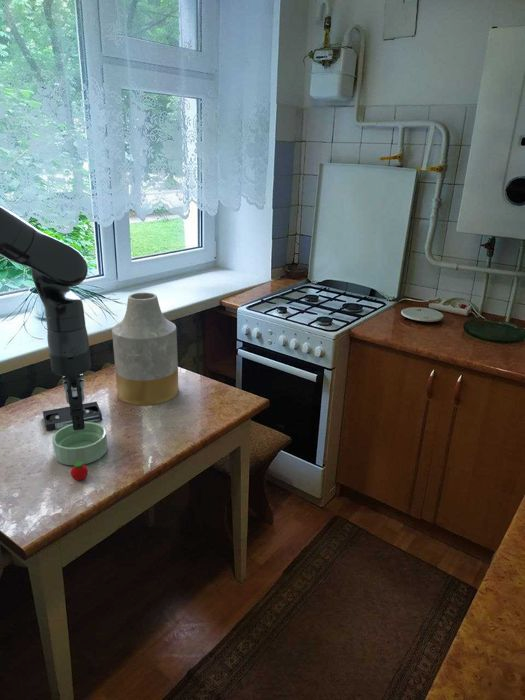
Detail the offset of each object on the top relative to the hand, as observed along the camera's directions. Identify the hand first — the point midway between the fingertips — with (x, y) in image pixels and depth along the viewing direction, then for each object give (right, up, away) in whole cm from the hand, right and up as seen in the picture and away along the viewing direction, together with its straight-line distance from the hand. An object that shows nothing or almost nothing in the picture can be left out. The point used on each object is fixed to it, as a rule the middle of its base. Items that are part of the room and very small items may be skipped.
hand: (78, 419), depth 104 cm
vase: (+4, +2, +48) cm, 49 cm away
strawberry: (-2, -14, +7) cm, 16 cm away
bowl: (-5, -11, +17) cm, 21 cm away
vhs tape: (-13, -5, +32) cm, 34 cm away
